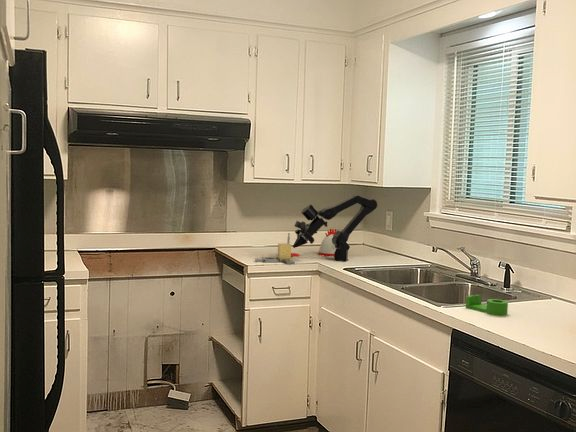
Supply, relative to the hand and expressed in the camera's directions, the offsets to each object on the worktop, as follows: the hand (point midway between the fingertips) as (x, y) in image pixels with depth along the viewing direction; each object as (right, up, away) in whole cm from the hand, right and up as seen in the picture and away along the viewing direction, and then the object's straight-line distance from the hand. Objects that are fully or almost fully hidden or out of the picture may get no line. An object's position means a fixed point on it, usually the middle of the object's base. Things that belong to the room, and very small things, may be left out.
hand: (293, 247), depth 333 cm
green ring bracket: (+70, -18, -103) cm, 126 cm away
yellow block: (-5, -7, -1) cm, 9 cm away
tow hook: (-1, -6, +22) cm, 22 cm away
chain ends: (-10, -7, -5) cm, 13 cm away
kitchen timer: (+22, -6, +28) cm, 36 cm away
